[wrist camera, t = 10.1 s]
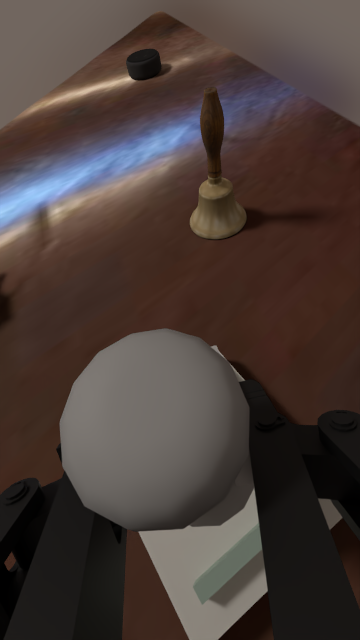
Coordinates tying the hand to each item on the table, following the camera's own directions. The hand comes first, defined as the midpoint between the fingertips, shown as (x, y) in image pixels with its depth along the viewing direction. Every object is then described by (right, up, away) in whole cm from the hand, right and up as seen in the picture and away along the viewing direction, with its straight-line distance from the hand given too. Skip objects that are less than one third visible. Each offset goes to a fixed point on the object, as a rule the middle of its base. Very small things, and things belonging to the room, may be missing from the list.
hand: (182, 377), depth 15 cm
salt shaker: (+1, -5, +1) cm, 6 cm away
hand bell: (+5, +18, +26) cm, 32 cm away
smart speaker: (-9, +69, +60) cm, 92 cm away
